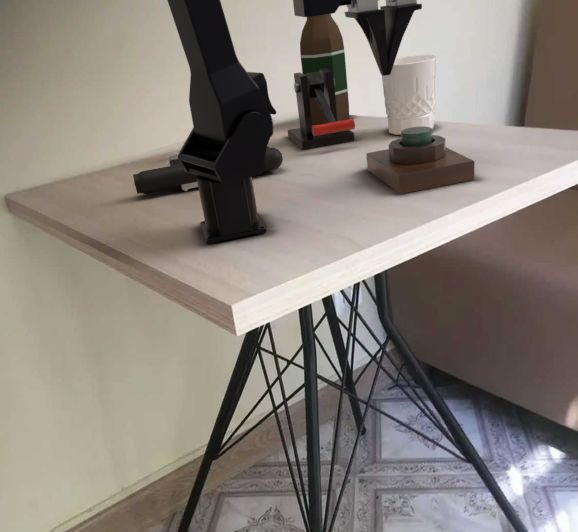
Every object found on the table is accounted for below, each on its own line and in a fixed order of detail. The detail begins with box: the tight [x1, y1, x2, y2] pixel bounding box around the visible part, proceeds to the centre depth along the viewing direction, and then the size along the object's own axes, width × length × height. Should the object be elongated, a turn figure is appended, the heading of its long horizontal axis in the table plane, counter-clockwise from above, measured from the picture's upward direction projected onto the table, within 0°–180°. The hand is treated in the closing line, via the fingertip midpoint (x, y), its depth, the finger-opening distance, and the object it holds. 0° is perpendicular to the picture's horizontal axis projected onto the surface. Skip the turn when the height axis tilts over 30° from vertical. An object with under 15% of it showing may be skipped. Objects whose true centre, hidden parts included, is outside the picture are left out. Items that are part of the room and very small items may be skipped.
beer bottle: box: [299, 14, 350, 125], centre depth 114 cm, size 8×8×24 cm
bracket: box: [287, 68, 355, 151], centre depth 106 cm, size 10×8×10 cm
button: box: [400, 127, 433, 146], centre depth 82 cm, size 4×4×2 cm
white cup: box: [381, 54, 437, 136], centre depth 103 cm, size 8×8×10 cm
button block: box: [365, 134, 475, 195], centre depth 84 cm, size 12×9×4 cm
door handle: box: [132, 145, 284, 195], centre depth 97 cm, size 3×20×16 cm
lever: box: [305, 71, 356, 136], centre depth 102 cm, size 12×6×2 cm, turn 13°
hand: (385, 75), depth 80 cm, fingers closed
